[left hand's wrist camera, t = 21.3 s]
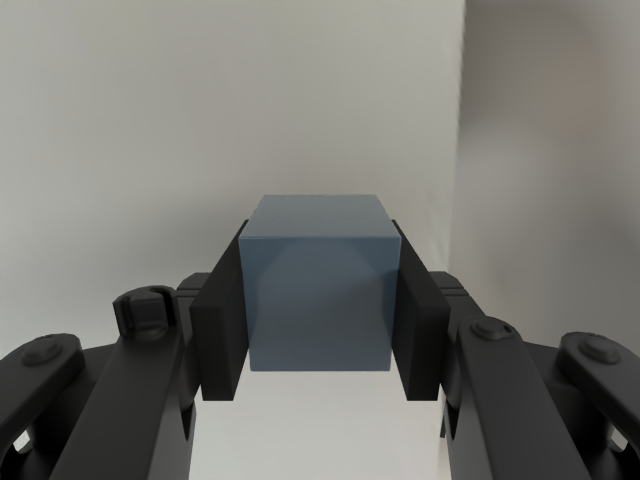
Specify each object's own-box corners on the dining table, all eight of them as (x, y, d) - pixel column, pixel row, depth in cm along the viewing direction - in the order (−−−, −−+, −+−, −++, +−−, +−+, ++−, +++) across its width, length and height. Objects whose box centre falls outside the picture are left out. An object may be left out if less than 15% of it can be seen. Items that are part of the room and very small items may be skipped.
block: (269, 296, 15) (249, 372, 11) (263, 194, 14) (237, 237, 9) (370, 296, 15) (390, 372, 11) (376, 194, 14) (401, 236, 9)
